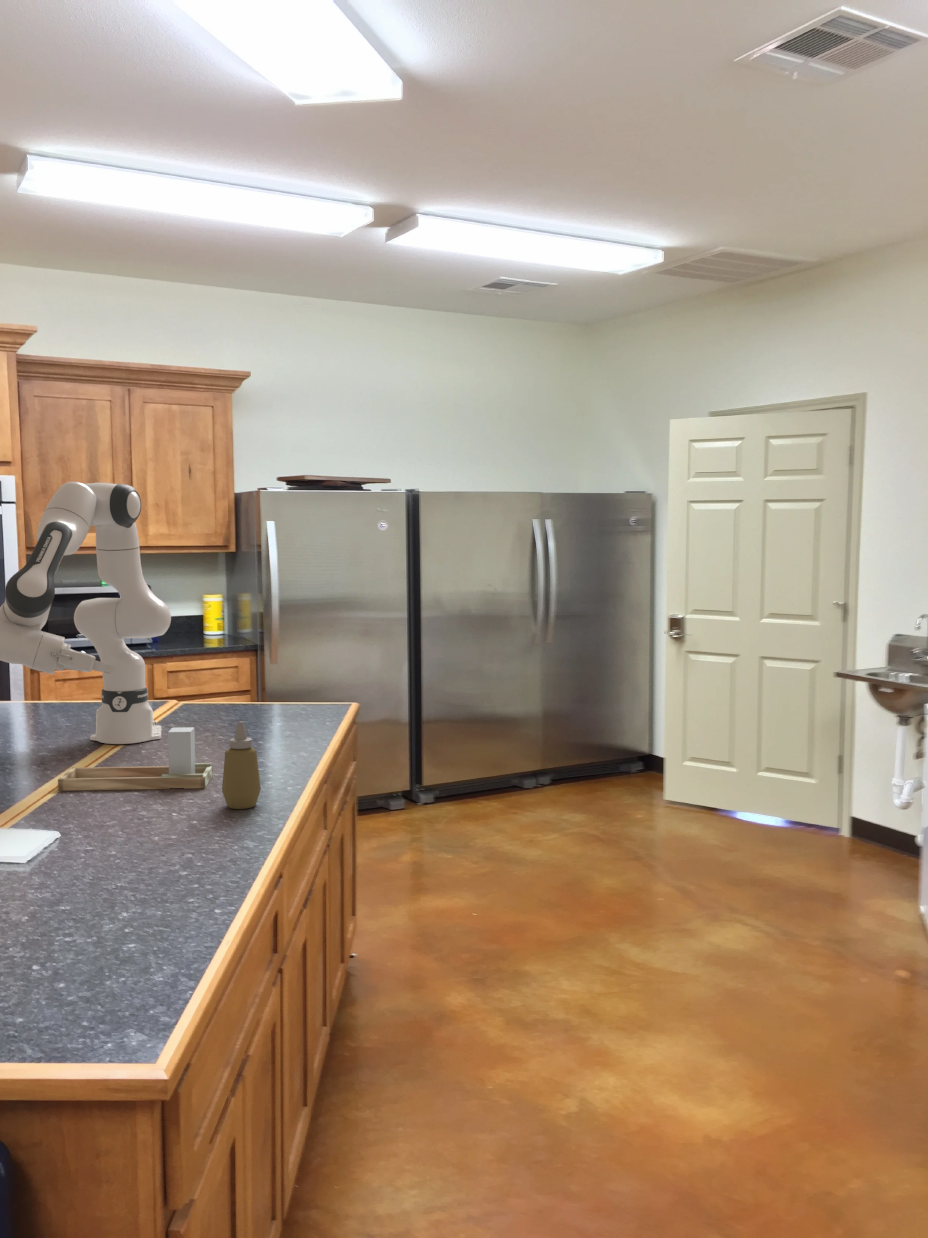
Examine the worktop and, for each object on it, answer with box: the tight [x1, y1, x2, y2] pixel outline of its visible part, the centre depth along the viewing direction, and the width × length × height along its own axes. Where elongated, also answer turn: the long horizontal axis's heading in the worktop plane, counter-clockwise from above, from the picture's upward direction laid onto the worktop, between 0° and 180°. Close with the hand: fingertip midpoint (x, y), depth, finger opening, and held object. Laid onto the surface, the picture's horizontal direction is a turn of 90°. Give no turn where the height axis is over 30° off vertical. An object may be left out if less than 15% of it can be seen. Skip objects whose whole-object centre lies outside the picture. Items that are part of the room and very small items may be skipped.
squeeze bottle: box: [221, 721, 262, 810], centre depth 209 cm, size 8×8×18 cm
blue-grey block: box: [167, 726, 196, 774], centre depth 228 cm, size 5×5×12 cm
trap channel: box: [57, 762, 214, 792], centre depth 228 cm, size 11×32×3 cm, turn 95°
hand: (113, 670), depth 232 cm, fingers open, 8 cm apart
